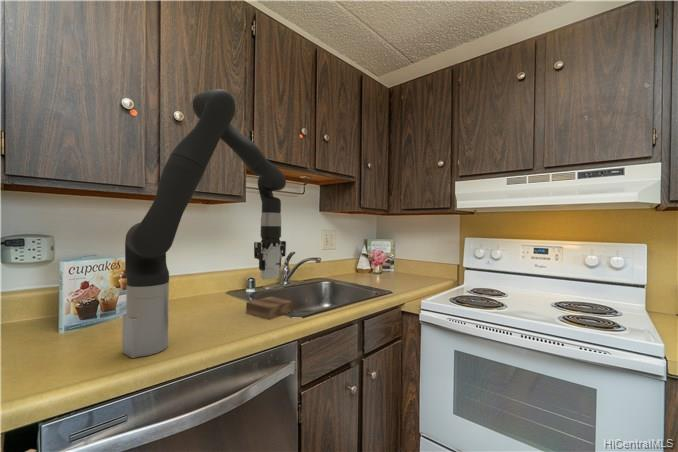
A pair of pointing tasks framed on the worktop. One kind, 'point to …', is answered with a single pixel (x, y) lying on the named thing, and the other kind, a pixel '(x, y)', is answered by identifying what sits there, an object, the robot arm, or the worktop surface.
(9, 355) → the worktop surface
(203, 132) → the robot arm
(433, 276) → the worktop surface
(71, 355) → the worktop surface
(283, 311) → the walnut plinth
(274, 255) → the skincare box
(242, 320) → the worktop surface
